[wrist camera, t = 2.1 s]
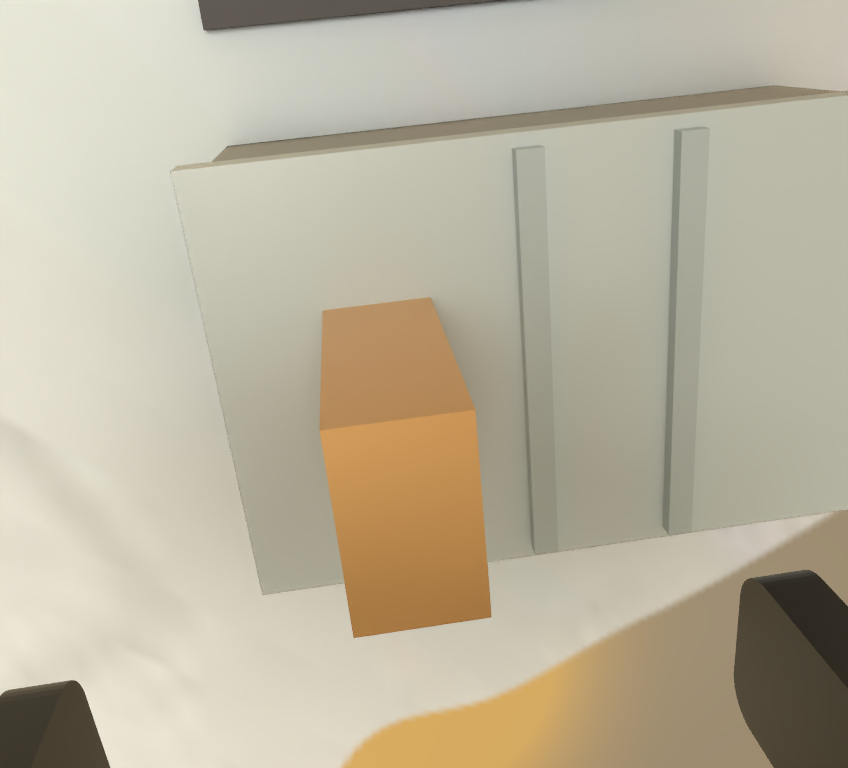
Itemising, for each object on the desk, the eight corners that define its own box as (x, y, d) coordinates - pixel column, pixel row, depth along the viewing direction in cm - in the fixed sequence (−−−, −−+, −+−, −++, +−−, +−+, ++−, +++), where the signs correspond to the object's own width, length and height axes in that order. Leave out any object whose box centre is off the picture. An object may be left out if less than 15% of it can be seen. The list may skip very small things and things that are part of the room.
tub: (774, 85, 23) (909, 97, 18) (751, 394, 27) (856, 481, 22) (227, 146, 22) (194, 178, 17) (285, 457, 26) (274, 564, 21)
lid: (896, 80, 19) (1242, 101, 12) (843, 471, 23) (1075, 663, 16) (184, 159, 18) (88, 236, 11) (267, 553, 22) (238, 798, 15)
